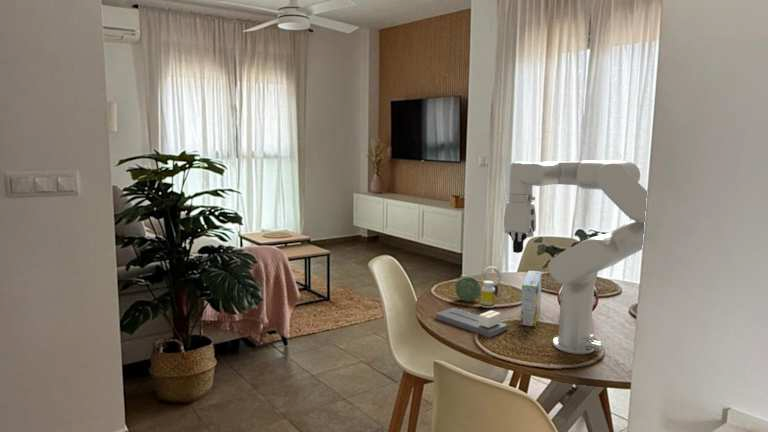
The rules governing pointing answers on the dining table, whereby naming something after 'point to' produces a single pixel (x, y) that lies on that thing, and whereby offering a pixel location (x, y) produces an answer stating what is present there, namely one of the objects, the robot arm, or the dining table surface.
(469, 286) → the decorative artifact
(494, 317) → the fader knob
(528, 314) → the snack box
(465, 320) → the grey slider track base
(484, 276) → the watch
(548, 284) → the dining table surface
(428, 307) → the dining table surface
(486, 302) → the supplement bottle
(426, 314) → the dining table surface
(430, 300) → the dining table surface
